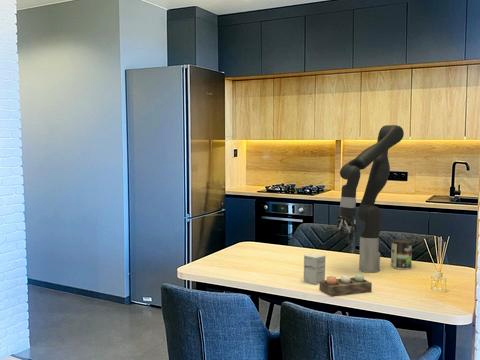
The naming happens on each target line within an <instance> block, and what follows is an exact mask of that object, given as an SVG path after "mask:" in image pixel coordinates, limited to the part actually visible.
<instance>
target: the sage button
mask: <svg viewBox="0 0 480 360" xmlns="http://www.w3.org/2000/svg"><path fill="white" fill-rule="evenodd" d="M354 277H355V281H356V282H364V280H365V274H364V273H354Z"/></svg>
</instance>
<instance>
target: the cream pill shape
mask: <svg viewBox="0 0 480 360" xmlns="http://www.w3.org/2000/svg"><path fill="white" fill-rule="evenodd" d="M350 278H351V276H350V275H349V274H340V279H341V283H343V284H348V283H350Z"/></svg>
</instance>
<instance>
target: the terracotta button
mask: <svg viewBox="0 0 480 360" xmlns="http://www.w3.org/2000/svg"><path fill="white" fill-rule="evenodd" d="M336 279H337V277H336V276H333V275H332V276H326V280H327V285H329V286H330V285H336Z"/></svg>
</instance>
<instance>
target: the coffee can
mask: <svg viewBox="0 0 480 360" xmlns="http://www.w3.org/2000/svg"><path fill="white" fill-rule="evenodd" d="M390 241H391V250H390V251H391V253H390V254H391V256H390V267H391V268H392V269H396V270H403V271H404V270H405V271H406V270H407V271H408V270H411V269H412V254H413V253H412V251H413V250H412V249H413V241H412V240H410V239H403V238H393V239H391V240H390Z"/></svg>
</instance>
